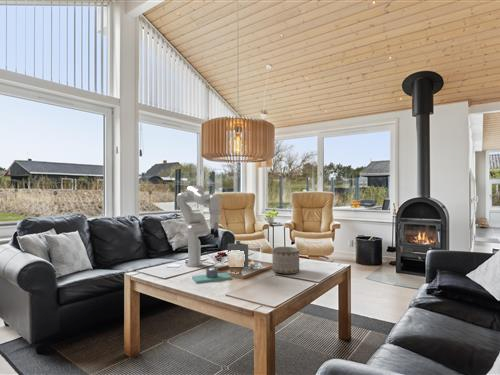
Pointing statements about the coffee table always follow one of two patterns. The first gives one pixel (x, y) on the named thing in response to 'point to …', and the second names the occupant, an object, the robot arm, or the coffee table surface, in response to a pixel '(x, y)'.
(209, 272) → the gunmetal ring
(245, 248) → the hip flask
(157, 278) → the coffee table surface
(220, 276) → the piston stand
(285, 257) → the planter
